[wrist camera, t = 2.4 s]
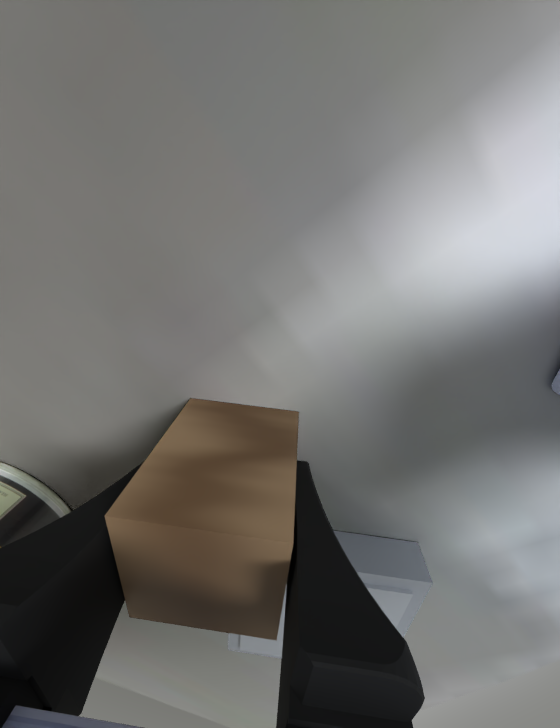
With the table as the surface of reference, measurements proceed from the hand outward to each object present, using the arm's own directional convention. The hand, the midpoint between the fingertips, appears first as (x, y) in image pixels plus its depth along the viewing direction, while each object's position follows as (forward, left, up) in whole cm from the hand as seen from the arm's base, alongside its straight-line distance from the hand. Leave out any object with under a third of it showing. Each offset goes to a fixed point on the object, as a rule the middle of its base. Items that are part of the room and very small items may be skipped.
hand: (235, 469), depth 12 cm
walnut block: (0, 0, -1) cm, 1 cm away
